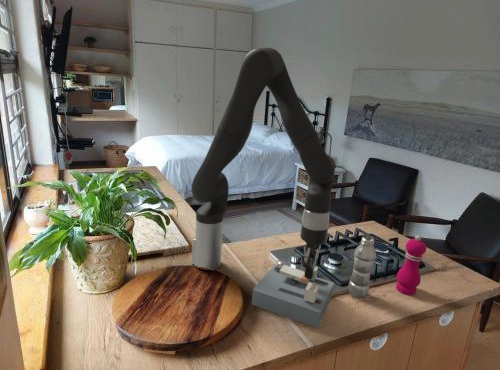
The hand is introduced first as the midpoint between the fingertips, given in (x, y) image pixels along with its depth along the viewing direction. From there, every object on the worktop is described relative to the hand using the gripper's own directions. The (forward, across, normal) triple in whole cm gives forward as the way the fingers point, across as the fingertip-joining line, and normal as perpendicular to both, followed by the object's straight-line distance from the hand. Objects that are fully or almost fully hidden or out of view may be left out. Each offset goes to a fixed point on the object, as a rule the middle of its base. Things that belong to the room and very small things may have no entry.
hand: (308, 277), depth 106 cm
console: (+8, -2, +3) cm, 9 cm away
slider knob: (+3, -6, -3) cm, 7 cm away
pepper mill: (+8, +24, -28) cm, 37 cm away
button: (+3, +4, +10) cm, 11 cm away
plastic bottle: (+8, +12, -14) cm, 20 cm away
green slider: (+3, +4, 0) cm, 5 cm away
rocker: (0, 0, +4) cm, 4 cm away
